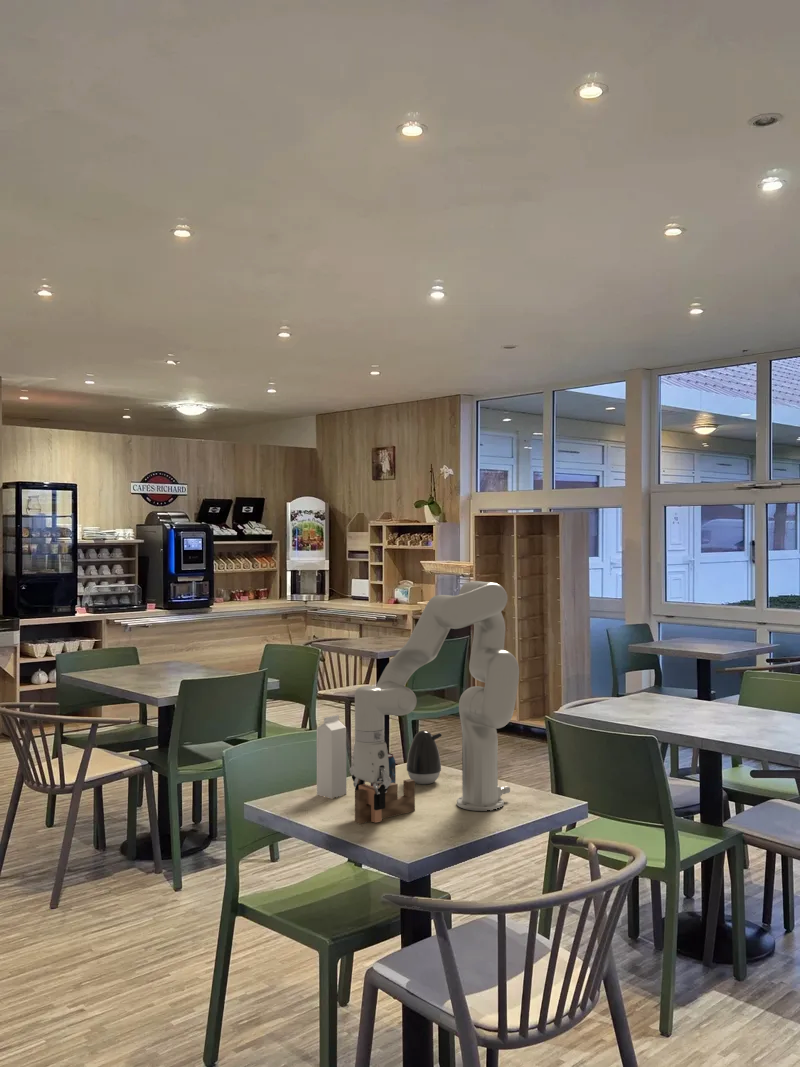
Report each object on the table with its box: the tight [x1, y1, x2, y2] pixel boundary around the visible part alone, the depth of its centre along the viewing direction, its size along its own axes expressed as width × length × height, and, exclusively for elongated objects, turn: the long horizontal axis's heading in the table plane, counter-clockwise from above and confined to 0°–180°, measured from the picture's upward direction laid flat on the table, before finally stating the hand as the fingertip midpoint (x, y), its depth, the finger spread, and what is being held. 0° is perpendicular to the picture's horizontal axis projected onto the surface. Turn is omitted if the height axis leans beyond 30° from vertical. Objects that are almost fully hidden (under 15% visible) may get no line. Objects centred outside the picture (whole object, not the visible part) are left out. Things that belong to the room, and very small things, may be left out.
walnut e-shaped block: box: [354, 778, 416, 825], centre depth 235 cm, size 18×2×8 cm, turn 129°
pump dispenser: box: [406, 730, 443, 785], centre depth 269 cm, size 10×10×15 cm
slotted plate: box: [359, 783, 382, 824], centre depth 232 cm, size 2×7×8 cm, turn 39°
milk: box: [316, 714, 347, 799], centre depth 256 cm, size 6×6×22 cm
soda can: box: [370, 752, 397, 787], centre depth 252 cm, size 7×7×12 cm
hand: (370, 805), depth 232 cm, fingers open, 7 cm apart
